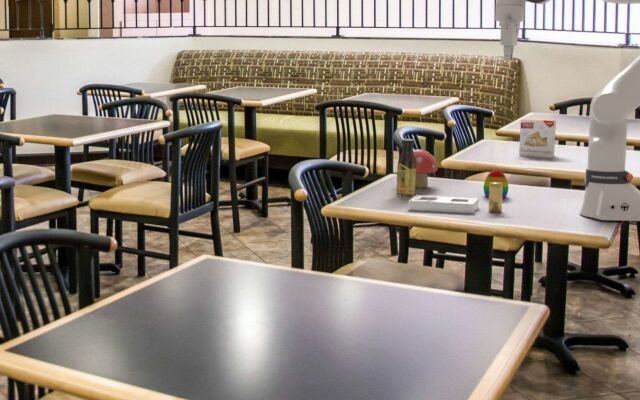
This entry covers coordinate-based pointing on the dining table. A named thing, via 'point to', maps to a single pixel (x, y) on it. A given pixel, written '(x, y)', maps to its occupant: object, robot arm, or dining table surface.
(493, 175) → the decorative egg
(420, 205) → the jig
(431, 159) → the decorative mushroom
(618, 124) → the robot arm
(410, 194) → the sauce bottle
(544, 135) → the cracker box
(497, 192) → the brass cylinder
